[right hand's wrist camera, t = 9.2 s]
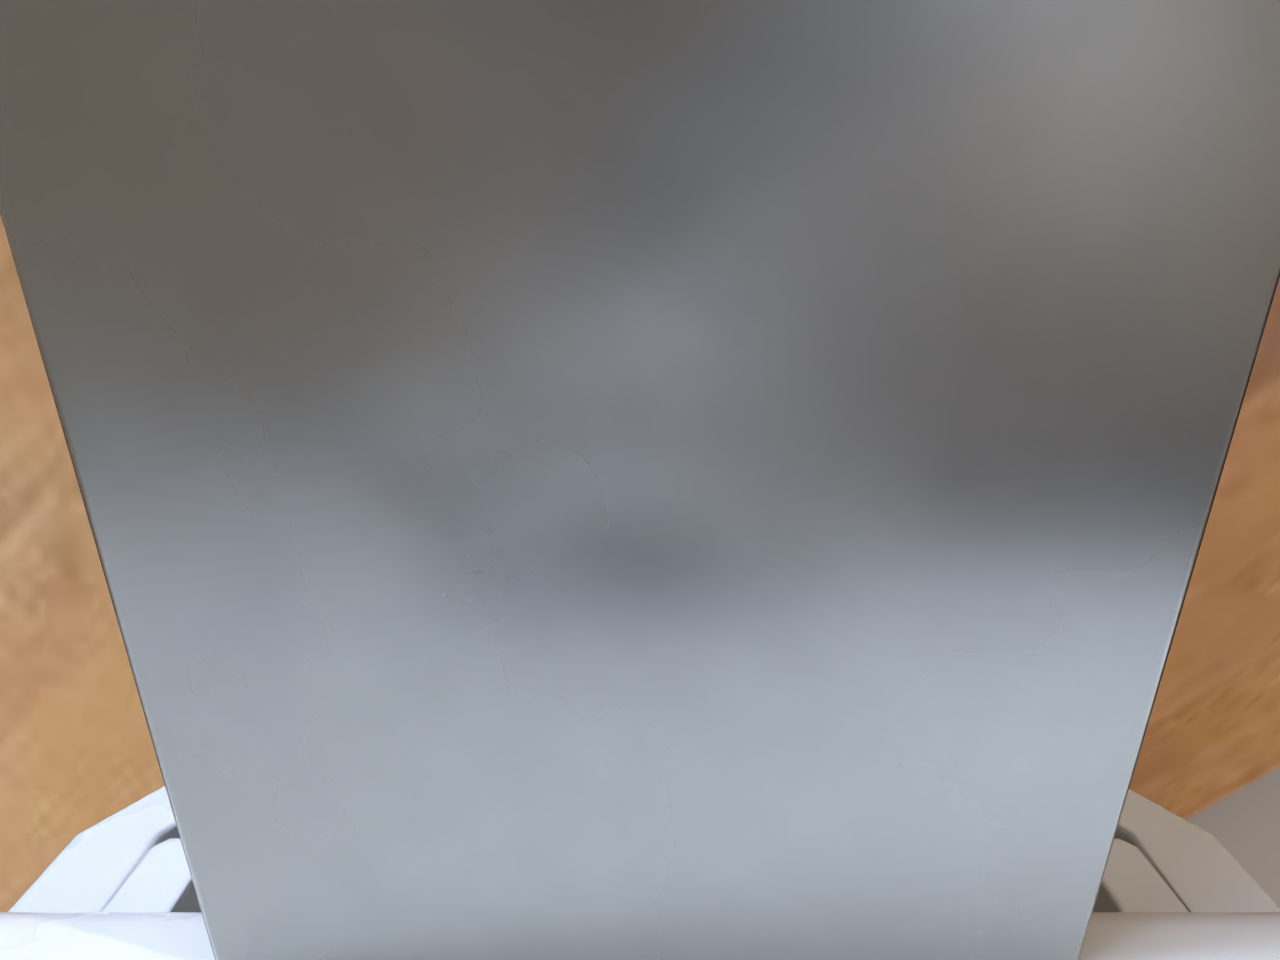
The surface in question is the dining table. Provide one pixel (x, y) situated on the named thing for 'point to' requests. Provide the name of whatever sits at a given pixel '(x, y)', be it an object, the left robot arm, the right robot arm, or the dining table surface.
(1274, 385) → the dining table surface
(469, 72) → the box
